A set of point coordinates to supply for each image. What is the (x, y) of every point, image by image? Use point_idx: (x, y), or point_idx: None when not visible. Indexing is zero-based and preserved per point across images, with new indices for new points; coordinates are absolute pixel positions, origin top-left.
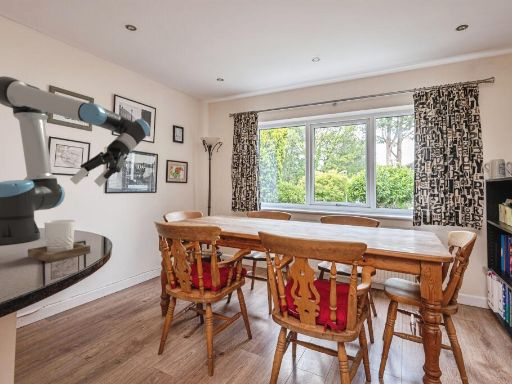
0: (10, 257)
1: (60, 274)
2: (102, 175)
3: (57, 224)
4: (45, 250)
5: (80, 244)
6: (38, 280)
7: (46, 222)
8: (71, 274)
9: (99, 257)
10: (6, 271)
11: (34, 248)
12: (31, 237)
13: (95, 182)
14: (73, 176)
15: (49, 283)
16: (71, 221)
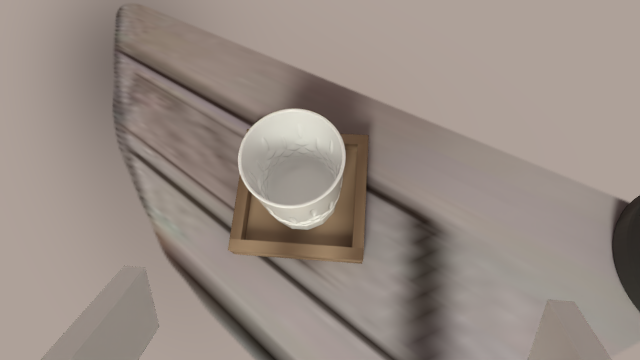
0: (407, 124)
1: (145, 97)
2: (58, 354)
3: (255, 126)
4: (355, 181)
5: (278, 248)
6: (156, 61)
7: (331, 128)
8: (121, 106)
9: (164, 228)
10: (279, 63)
11: (361, 149)
12: (630, 279)
13: (146, 283)
14: (589, 341)
15: (120, 60)
16: (289, 206)
